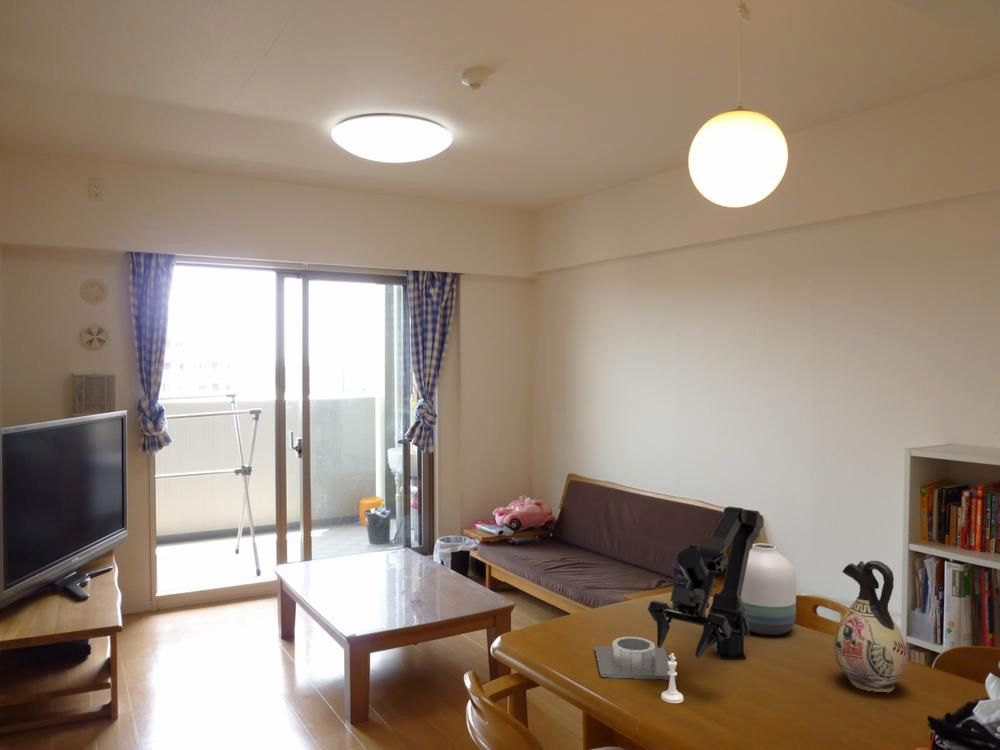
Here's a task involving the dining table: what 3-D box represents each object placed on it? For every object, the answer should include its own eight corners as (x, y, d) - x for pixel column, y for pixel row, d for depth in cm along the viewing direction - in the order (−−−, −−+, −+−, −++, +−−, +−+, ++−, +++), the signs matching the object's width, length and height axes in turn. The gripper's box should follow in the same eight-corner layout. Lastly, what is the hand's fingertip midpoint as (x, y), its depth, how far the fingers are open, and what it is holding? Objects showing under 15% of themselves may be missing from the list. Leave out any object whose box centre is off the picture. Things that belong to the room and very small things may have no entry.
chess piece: (671, 705, 156) (671, 659, 157) (656, 696, 161) (656, 651, 161) (688, 700, 159) (688, 655, 159) (673, 691, 163) (673, 648, 163)
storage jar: (673, 619, 213) (673, 569, 213) (671, 609, 223) (671, 561, 223) (707, 621, 211) (707, 571, 211) (703, 611, 221) (704, 563, 221)
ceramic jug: (818, 678, 171) (818, 553, 171) (864, 668, 177) (864, 547, 178) (881, 708, 155) (881, 570, 156) (929, 696, 162) (929, 563, 162)
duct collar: (663, 651, 188) (663, 632, 188) (677, 680, 170) (677, 658, 170) (594, 649, 188) (594, 630, 189) (600, 678, 170) (601, 657, 171)
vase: (720, 625, 208) (720, 543, 208) (759, 616, 217) (759, 537, 217) (768, 644, 193) (768, 555, 194) (808, 633, 202) (808, 548, 202)
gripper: (651, 566, 172) (628, 623, 163) (726, 580, 160) (706, 643, 151) (666, 592, 178) (644, 648, 169) (739, 607, 166) (720, 669, 157)
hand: (677, 651), depth 162 cm, fingers open, 9 cm apart
